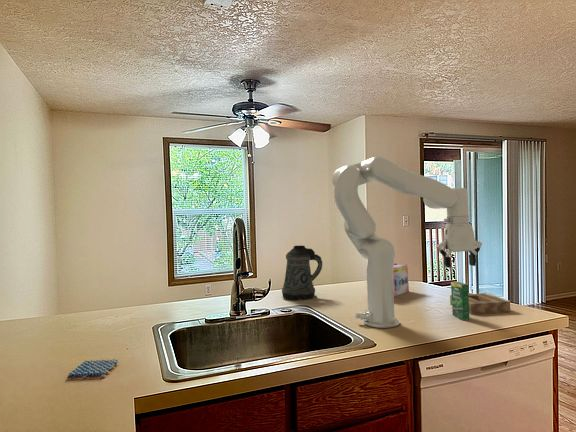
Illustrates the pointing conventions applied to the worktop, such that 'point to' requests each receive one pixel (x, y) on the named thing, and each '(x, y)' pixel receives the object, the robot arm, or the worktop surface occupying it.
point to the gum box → (400, 279)
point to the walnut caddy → (486, 304)
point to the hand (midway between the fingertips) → (460, 266)
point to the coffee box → (460, 300)
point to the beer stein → (300, 274)
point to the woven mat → (93, 369)
